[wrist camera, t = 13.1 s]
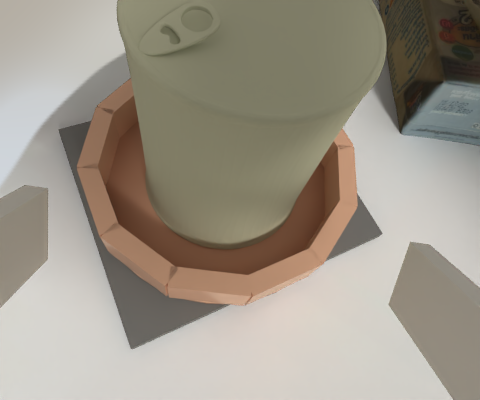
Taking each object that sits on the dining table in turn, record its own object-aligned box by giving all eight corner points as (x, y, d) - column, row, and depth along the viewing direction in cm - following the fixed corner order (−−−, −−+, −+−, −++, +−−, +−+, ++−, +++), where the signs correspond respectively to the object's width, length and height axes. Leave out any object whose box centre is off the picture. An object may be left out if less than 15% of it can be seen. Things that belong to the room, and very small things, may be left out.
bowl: (271, 68, 28) (280, 35, 25) (380, 243, 23) (406, 225, 20) (64, 121, 24) (49, 88, 21) (143, 353, 18) (137, 349, 16)
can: (118, 151, 22) (60, -56, 12) (243, 98, 26) (288, -104, 15) (196, 281, 20) (214, 165, 9) (326, 203, 23) (452, 49, 12)
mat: (277, 77, 29) (279, 71, 28) (377, 236, 24) (382, 233, 23) (61, 135, 24) (58, 129, 23) (132, 349, 19) (130, 348, 18)
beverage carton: (392, 137, 28) (448, 72, 22) (368, -23, 36) (404, -101, 31) (490, 151, 29) (569, 92, 23) (445, -9, 37) (494, -83, 31)
